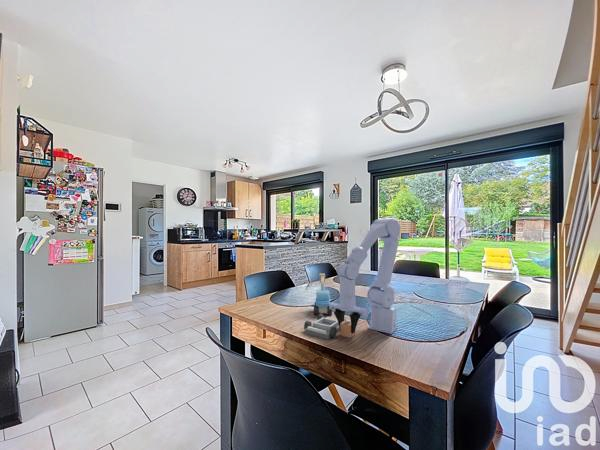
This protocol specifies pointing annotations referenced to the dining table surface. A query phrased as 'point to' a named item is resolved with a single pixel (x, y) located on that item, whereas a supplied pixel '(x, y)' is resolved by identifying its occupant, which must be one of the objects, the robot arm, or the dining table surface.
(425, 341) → the dining table surface
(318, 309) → the toy excavator
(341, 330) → the block
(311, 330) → the chassis
